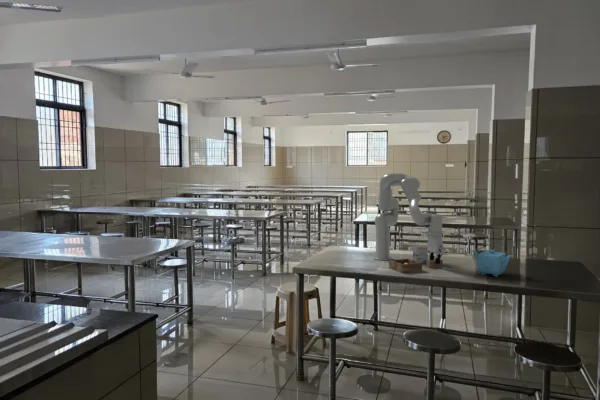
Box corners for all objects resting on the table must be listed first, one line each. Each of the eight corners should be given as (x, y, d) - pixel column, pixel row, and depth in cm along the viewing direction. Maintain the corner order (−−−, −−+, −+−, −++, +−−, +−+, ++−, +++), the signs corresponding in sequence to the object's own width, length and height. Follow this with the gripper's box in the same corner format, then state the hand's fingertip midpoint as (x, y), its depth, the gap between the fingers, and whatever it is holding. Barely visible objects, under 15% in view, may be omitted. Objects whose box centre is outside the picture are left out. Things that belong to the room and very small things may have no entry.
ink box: (423, 262, 308) (424, 245, 307) (427, 264, 303) (428, 246, 302) (412, 263, 306) (412, 245, 305) (416, 264, 301) (416, 246, 300)
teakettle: (497, 270, 285) (498, 247, 284) (514, 278, 266) (515, 252, 265) (468, 271, 283) (469, 247, 282) (483, 278, 264) (484, 253, 263)
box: (389, 269, 285) (389, 260, 284) (407, 268, 290) (408, 258, 290) (402, 274, 272) (402, 264, 271) (421, 272, 277) (422, 263, 277)
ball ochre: (402, 268, 285) (402, 262, 285) (406, 267, 287) (407, 262, 286) (405, 269, 282) (405, 263, 282) (410, 268, 283) (410, 263, 283)
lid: (416, 268, 294) (416, 258, 293) (436, 266, 300) (436, 257, 300) (432, 273, 279) (432, 263, 279) (453, 271, 285) (453, 261, 285)
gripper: (422, 232, 294) (421, 260, 296) (439, 236, 279) (438, 266, 280) (431, 232, 297) (430, 259, 298) (449, 235, 281) (448, 265, 283)
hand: (434, 262), depth 289 cm, fingers open, 4 cm apart
